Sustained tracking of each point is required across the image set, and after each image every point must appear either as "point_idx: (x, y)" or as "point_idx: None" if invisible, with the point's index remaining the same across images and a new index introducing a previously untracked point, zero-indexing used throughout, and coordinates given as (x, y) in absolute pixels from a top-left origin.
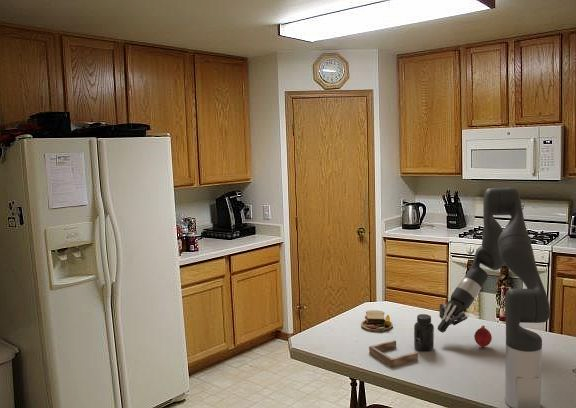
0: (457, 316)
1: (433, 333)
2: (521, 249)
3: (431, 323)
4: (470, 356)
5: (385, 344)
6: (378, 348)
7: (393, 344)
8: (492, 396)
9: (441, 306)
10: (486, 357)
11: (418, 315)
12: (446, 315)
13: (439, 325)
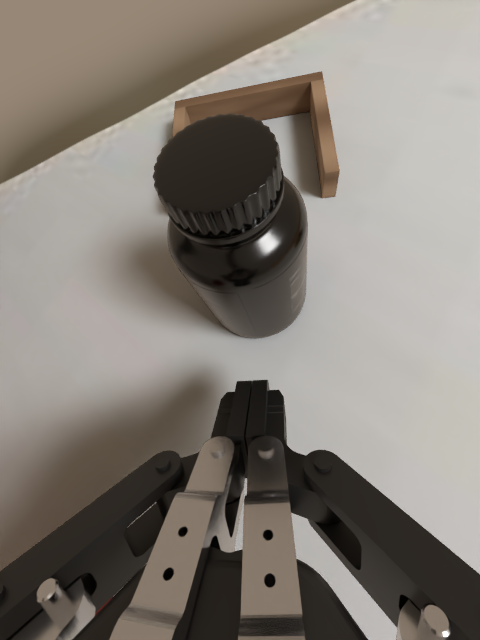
0: (80, 534)
1: (192, 286)
2: None
3: (202, 258)
4: (72, 430)
5: (317, 130)
6: (313, 114)
7: (322, 172)
8: None
9: (476, 618)
10: (17, 495)
11: (257, 127)
12: (249, 493)
13: (264, 396)
